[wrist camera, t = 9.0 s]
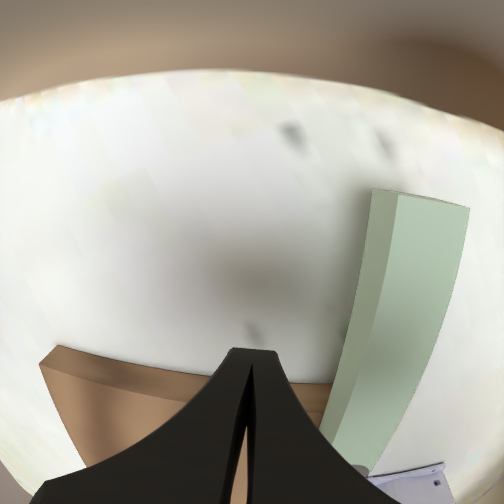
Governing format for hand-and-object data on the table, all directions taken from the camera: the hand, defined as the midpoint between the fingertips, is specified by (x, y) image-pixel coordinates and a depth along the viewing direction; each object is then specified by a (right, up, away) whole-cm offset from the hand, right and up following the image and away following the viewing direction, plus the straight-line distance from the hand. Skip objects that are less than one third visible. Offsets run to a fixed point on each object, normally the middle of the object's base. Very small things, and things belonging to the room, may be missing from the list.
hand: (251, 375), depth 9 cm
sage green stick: (+6, -2, +4) cm, 7 cm away
